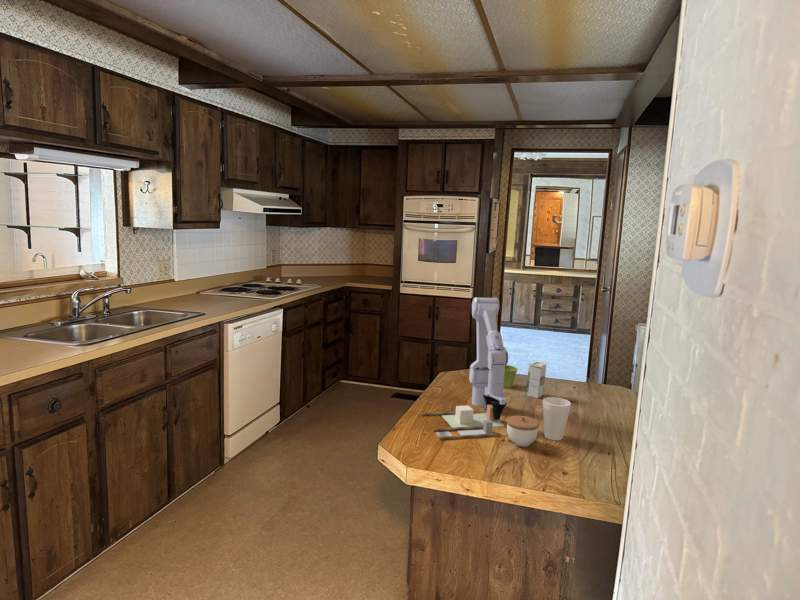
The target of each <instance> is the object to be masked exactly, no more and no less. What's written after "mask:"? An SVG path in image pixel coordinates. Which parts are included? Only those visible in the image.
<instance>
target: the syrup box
mask: <svg viewBox="0 0 800 600" xmlns="http://www.w3.org/2000/svg"><path fill="white" fill-rule="evenodd" d="M546 370H547V363H544V362H540V361H533V362H531V363H528V372H527V382H526V390H525V391H526V392H525V396H526V397H530V398H535V399H539V398H541V397H543V395H544V389H545V383H546Z"/></svg>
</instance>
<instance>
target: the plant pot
mask: <svg viewBox="0 0 800 600" xmlns="http://www.w3.org/2000/svg"><path fill="white" fill-rule="evenodd" d="M518 370H519V368H518V367H516V366H514V365H510V364H509V365H508V364H507V365H505V373H504V387H503V389H508V388H510V389H512V388H513V386H514V382H515V378H516V374H517V371H518Z"/></svg>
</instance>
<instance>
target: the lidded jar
mask: <svg viewBox="0 0 800 600" xmlns="http://www.w3.org/2000/svg"><path fill="white" fill-rule="evenodd" d="M539 427H540V422H539V421H538V420H537V419H535V418H533V417H530V416H527V415H526V416H525V415H513V416H509V417H508V418H507V419H506V433H507V437H508V438H509V440H510V441H511V443H512V444H513V445H515V446H518V447H529V446H530V445H531V444H532V443H534V442H535V441H536V439H537V437H538V433H539Z"/></svg>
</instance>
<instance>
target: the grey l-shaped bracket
mask: <svg viewBox="0 0 800 600" xmlns="http://www.w3.org/2000/svg"><path fill="white" fill-rule="evenodd" d="M457 433H458V434H459V436H460V435H476V434H491V433H493V422H492V421H491V420H484V425H483V429H474V430H457Z"/></svg>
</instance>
